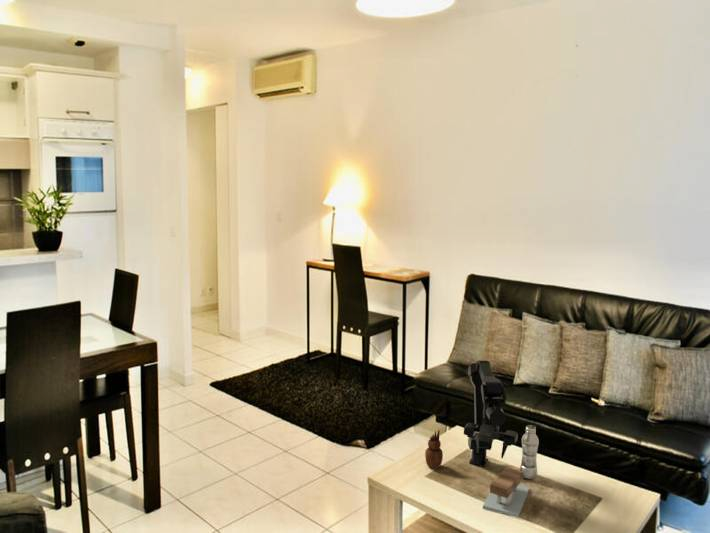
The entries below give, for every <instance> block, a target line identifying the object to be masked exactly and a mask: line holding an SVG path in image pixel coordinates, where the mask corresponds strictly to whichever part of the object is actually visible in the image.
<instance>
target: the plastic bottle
mask: <svg viewBox="0 0 710 533" xmlns="http://www.w3.org/2000/svg"><path fill="white" fill-rule="evenodd" d="M536 428H537V427H536V425H531V424H528V425H526V426H525V433H524V434H523V435H522V437H521V447H522V450H521V452H522V457H521V464H520V467H519V470H520V471H524V476H523V479H524V478H525V479H527V480H533V479H535V478H536V477H537V475H538V466H537V464H538V463H537V457H538V454H537V453H538V448H539V443H540V441H539V440H540V439H539V438H538V435H537V434H536V433H537V431H536V430H537V429H536Z"/></svg>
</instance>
